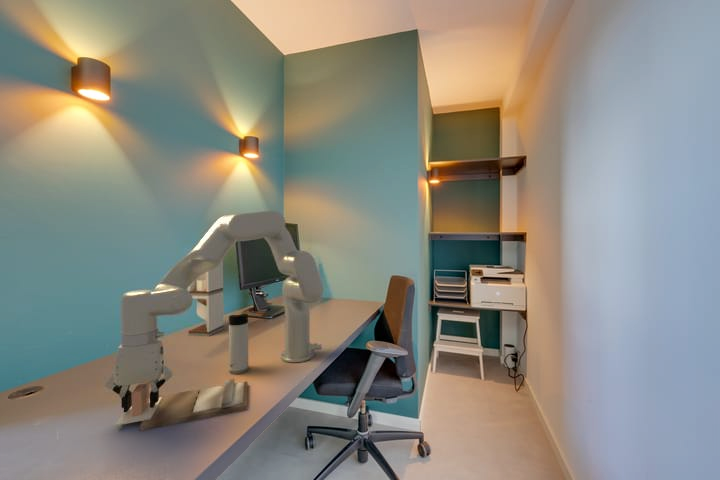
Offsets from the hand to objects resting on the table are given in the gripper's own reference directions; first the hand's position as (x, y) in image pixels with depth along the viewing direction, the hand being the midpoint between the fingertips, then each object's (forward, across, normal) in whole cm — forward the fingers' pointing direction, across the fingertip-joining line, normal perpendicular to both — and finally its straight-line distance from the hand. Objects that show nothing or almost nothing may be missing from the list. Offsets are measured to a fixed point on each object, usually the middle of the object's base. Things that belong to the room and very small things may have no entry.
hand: (140, 406), depth 76 cm
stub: (+1, 0, 0) cm, 1 cm away
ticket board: (+2, -14, 0) cm, 14 cm away
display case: (+3, -6, -70) cm, 70 cm away
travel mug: (+3, -23, -19) cm, 30 cm away
